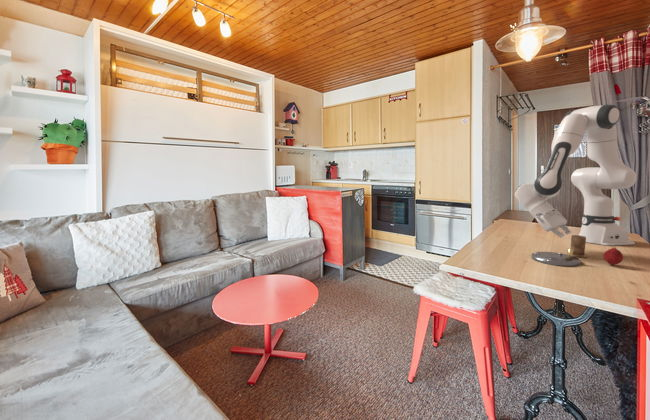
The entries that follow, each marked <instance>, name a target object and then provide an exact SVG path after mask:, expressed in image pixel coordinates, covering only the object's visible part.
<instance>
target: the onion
mask: <svg viewBox="0 0 650 420" xmlns="http://www.w3.org/2000/svg"><path fill="white" fill-rule="evenodd" d="M603 259H604V261H605V263H607V264H608V265H610V266H612V267H613V266H615V265H618V264H620V263H622V261H623V260H624V255H623V253H622V252H621V250H618V249H617V247H616V246H615V245H612V247H611V248H609V249H607V250H606V251H604V252H603Z"/></svg>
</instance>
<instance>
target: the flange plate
mask: <svg viewBox="0 0 650 420" xmlns="http://www.w3.org/2000/svg"><path fill="white" fill-rule="evenodd" d="M567 249H568V251H567V252H568V255H567V253H566V254H565V253H563V252H553V251H535V252H532V253H531V255H530V256H531V259H532V260H534V261H536V262H537V263H538V262H539V263H541V264H545V265H551V266H558V267H577V266H580V265H581V258H576V257H574V256H573V249H572V248H570V247H569V248H567Z"/></svg>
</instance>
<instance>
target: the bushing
mask: <svg viewBox="0 0 650 420" xmlns="http://www.w3.org/2000/svg"><path fill="white" fill-rule="evenodd" d="M570 239H571V240H570V246H569V248H572V249H573V256H574V257H576V258H578V259H587V257H588V254H587V253H586V252H585V251H586V250H585V249H586V243H587V242H586V237H585V236H579V234H577V235H575V234H574V235H573V234H572V235H571V237H570ZM566 255H568V251H567V252H566Z"/></svg>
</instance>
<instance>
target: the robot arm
mask: <svg viewBox="0 0 650 420" xmlns="http://www.w3.org/2000/svg"><path fill="white" fill-rule="evenodd" d="M620 116H621V110H620V108H618V106H617V105H616V104H615V105H614V104H603V105H591V106H587V107H583V108H578V109H577V108H576V109H573V110H570V111H568V112H565V115H564V116H563V117H562V120H561V122H560V123H559V125H558V127H557V129H556V131H555V133H554V136H553V138H552V141H551V147H550V149H551V155H550V157H549V159H548V162H547V164H546V167H545V169H544V170H543V172H542V173H541V174H539V176H537V177H536V179H535V181H533V182H523V183H521V184H520V185H519V186H518V187H517V188H516V189H515V191H514V197H515V198H516V200H517V201H518V202H519V204H521V206H523V207H524V208H526V209H527V211H528V212H529V214H530V215H531V216H532V217H533V218H534V219H535V220H536V222H537V223H538V224H539V225H540V227H541V228H542V229H543V230H544V231H545V232H547V233H549V232H552V233H553V234H555V236H558V238H560V239H561V238H563V237H565V234H566V235H569V234H571V233H572V231H571V230H570V229H569V227H568V225H566V224H567V223H568V220H567V219H566V218H565V216H564V215H562V214H561V212H560V211H559V210H558V208H557V206H555V205H552V204H551V203H549V202H548V201H547V200H549V199H552V198H555V197H557V195H558V194H559V193H560V190H561V188H562V186H563V185H562V184H563V183H562V172H563V170H564V167H565V165H566V163H567V161H568V158H569V157H570V156H571V155H573V154H575V153H576V151H577V150H578V149H579V147H580V145H581V143H582V142H583V139H584V137H585V133H586V131H587V135H586V137H587V138H586V155H587V158H588V159H589V160H591V161H593V162H596V163H597V164H598V165H599V167H596V166H595V167H592V166H591V167H583V168H582V167H581V168H577V169H575V170H574V171H573V172H572V174H570V175H571V177H570V181H571V183H572V185H573V186H575V187H576V188H577V189H578V190H579V191H580V192H581V195H582V196H583V201H584V202H583V206H584V207H583V213H582V216H581V228H580V232H579V234H578V235H579V236H585V237H586V243H589V244H594V245H595V244H597V245H602V246H607V247H609V246H626V245H627V246H628V245H630V246H631V245H636V244H635V243H636V242H634V241H633V240H630V239H629V237H630V236H629V232H628V231H627V229H625V228H623V227H622V226H620V225H619V224H617V223H616V221H617V222H620V221H621V220H622V218H621V217H620V216H613V210H614V201H613V199H612V198H611V197H610V196H608V195H605V194H604V193H603V192H602V189H603V190H604V189H605V190H623V189H629V188H631V187H633V186H634V185H635V183H636V181H637V180H638V177H637V173H636V172H635V171H634V169H632V168H631V167H629V166H627V165H626V164H625V163H624V162H623V161H622V160H621V159H620V156H619V152H618V132H617V126H616V125H617V123H618V122H619V119H620ZM559 228H560V229H562V231H563V232H562V231H560V230H559Z"/></svg>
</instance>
